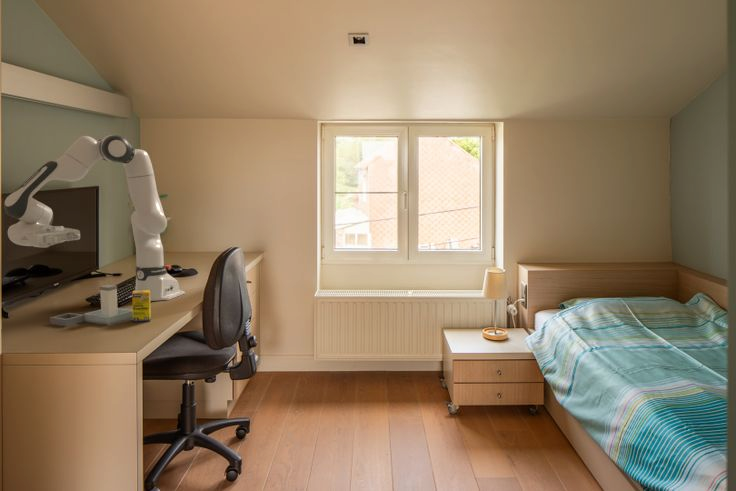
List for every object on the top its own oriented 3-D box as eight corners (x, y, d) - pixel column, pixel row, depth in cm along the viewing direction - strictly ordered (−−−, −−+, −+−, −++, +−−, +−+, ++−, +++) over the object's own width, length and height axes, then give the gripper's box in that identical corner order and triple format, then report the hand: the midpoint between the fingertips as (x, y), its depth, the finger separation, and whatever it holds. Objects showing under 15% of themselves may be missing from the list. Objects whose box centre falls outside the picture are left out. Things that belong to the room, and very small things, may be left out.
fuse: (110, 315, 235) (108, 284, 234) (118, 317, 234) (117, 285, 232) (101, 318, 232) (99, 286, 230) (109, 319, 230) (108, 287, 228)
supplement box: (132, 322, 229) (131, 293, 228) (134, 318, 235) (133, 290, 233) (150, 321, 231) (149, 292, 229) (151, 317, 236) (150, 289, 235)
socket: (77, 317, 236) (76, 310, 236) (92, 319, 233) (92, 313, 233) (50, 324, 226) (50, 317, 225) (66, 326, 222) (65, 319, 222)
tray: (110, 314, 241) (110, 307, 240) (134, 318, 236) (134, 310, 235) (84, 321, 230) (84, 313, 229) (108, 325, 225) (108, 317, 224)
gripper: (17, 230, 230) (43, 232, 224) (64, 225, 248) (89, 227, 243) (18, 247, 231) (44, 249, 225) (65, 241, 249) (90, 243, 244)
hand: (68, 238), depth 234 cm, fingers open, 8 cm apart
